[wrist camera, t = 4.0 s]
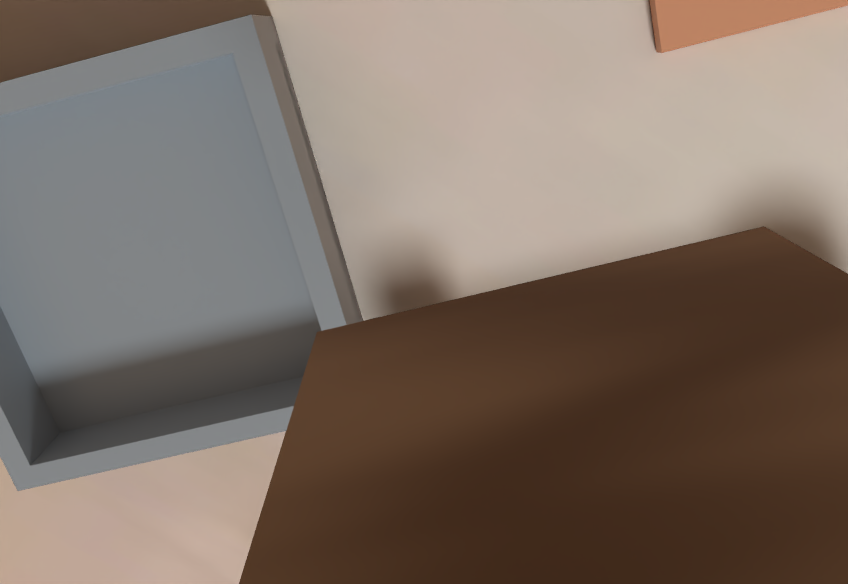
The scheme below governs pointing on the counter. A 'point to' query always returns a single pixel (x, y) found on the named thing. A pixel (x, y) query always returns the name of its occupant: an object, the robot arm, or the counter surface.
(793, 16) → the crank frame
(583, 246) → the counter surface
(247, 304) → the tray
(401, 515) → the block
